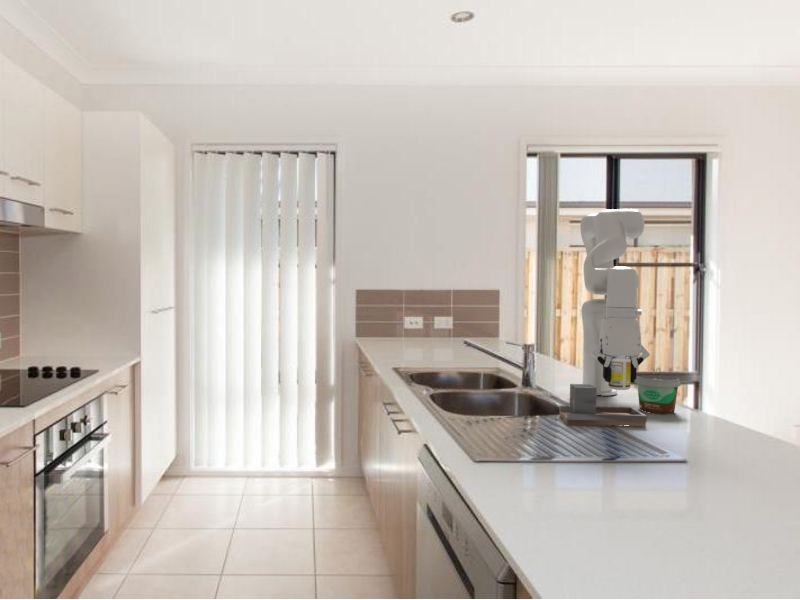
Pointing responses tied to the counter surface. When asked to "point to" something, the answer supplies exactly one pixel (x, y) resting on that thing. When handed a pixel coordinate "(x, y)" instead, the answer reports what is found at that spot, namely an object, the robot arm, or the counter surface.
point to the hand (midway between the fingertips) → (619, 380)
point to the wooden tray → (596, 410)
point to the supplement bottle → (620, 373)
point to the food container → (657, 395)
